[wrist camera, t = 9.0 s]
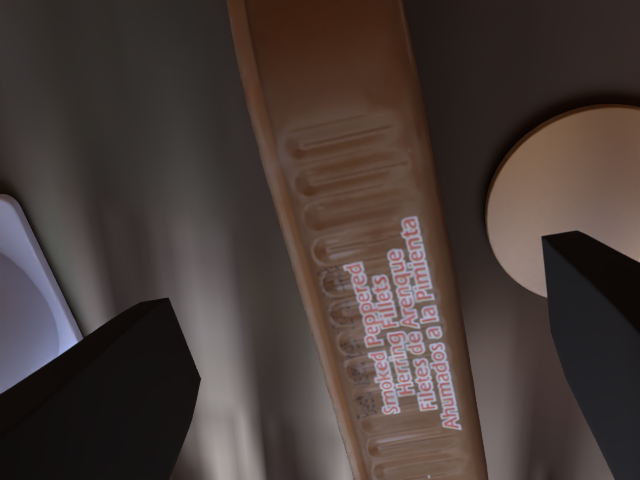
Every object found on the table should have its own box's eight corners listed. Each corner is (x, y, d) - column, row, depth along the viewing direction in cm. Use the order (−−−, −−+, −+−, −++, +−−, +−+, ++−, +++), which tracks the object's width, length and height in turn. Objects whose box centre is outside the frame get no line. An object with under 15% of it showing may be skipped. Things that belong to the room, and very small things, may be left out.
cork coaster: (497, 310, 19) (498, 317, 19) (470, 128, 17) (472, 132, 17) (703, 281, 18) (710, 287, 18) (707, 81, 16) (714, 84, 15)
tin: (259, -92, 15) (126, -127, 8) (385, -129, 14) (375, -205, 7) (378, 387, 21) (369, 632, 14) (470, 376, 21) (514, 626, 13)
